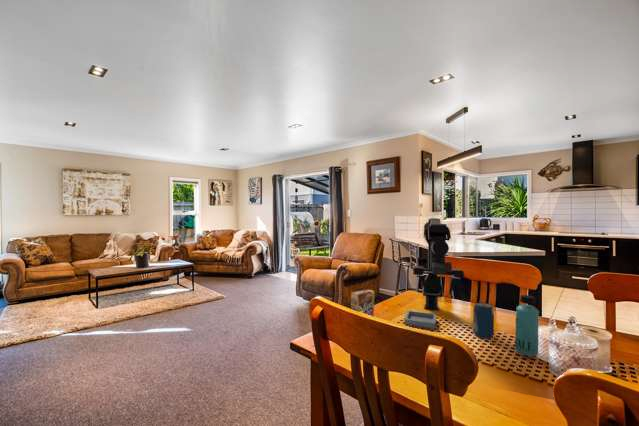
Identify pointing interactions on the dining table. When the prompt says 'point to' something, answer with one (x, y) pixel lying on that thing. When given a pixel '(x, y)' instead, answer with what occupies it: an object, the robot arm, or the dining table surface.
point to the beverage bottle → (527, 327)
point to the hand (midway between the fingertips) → (437, 294)
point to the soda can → (483, 320)
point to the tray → (420, 319)
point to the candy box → (363, 301)
